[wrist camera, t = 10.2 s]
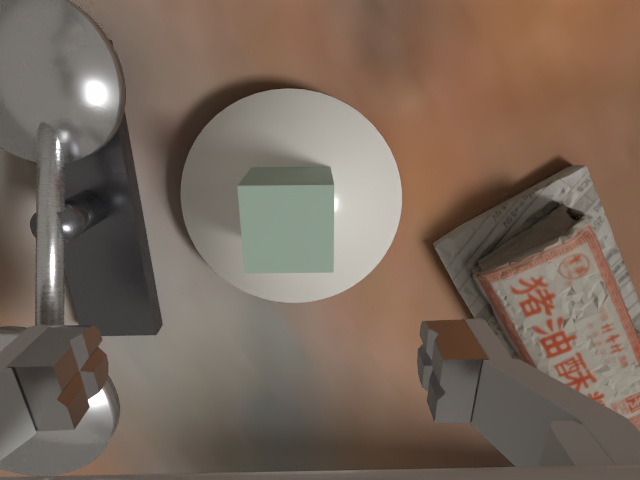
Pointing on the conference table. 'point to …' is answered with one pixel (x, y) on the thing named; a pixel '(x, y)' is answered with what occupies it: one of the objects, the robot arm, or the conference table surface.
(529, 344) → the packaged product
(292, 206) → the block
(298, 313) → the conference table surface
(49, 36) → the balance
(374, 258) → the dish
